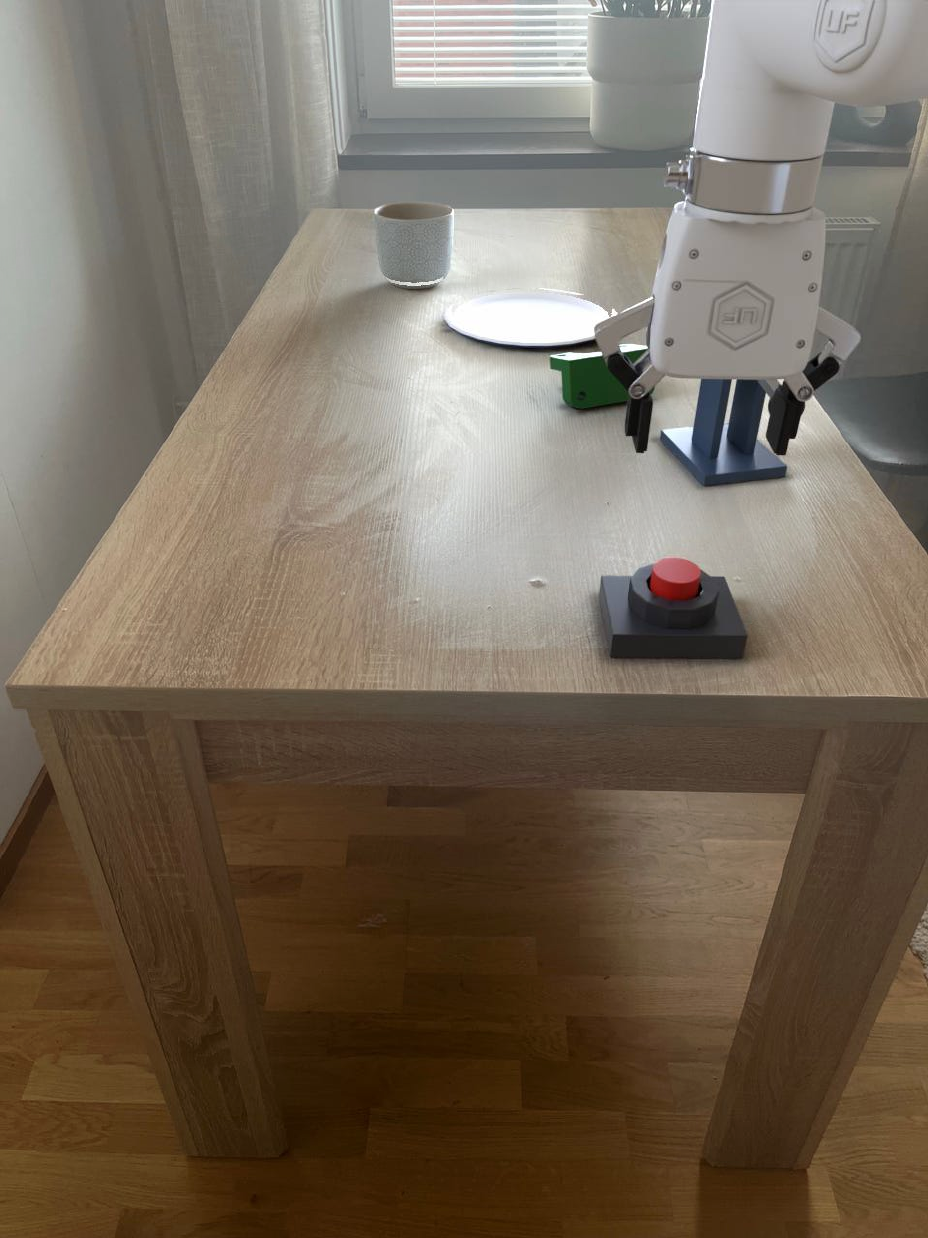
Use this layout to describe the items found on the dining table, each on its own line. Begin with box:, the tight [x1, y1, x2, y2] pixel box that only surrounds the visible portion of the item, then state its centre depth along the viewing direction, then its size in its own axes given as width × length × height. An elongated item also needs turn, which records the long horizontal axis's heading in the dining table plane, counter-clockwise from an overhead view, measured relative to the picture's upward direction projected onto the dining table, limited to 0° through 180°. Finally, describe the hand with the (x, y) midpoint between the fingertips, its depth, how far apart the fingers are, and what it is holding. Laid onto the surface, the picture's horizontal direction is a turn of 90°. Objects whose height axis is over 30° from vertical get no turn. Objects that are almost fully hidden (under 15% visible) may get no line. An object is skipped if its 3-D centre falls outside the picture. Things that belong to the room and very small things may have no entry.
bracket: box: [659, 379, 788, 487], centre depth 93 cm, size 11×9×14 cm
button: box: [650, 557, 701, 601], centre depth 70 cm, size 4×4×2 cm
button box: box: [598, 562, 748, 660], centre depth 71 cm, size 10×8×4 cm
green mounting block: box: [549, 343, 656, 410], centre depth 108 cm, size 12×6×9 cm, turn 106°
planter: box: [372, 201, 455, 290], centre depth 144 cm, size 12×12×11 cm
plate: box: [443, 287, 618, 349], centre depth 131 cm, size 25×25×1 cm
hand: (706, 445), depth 65 cm, fingers open, 9 cm apart
